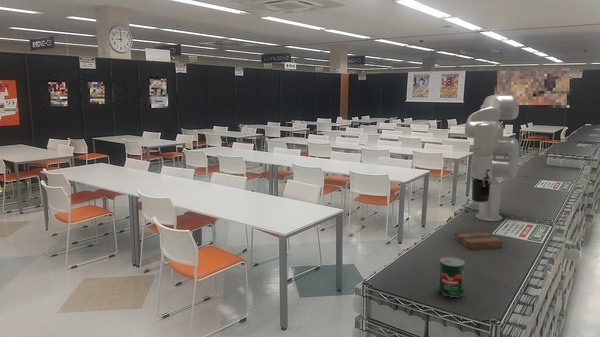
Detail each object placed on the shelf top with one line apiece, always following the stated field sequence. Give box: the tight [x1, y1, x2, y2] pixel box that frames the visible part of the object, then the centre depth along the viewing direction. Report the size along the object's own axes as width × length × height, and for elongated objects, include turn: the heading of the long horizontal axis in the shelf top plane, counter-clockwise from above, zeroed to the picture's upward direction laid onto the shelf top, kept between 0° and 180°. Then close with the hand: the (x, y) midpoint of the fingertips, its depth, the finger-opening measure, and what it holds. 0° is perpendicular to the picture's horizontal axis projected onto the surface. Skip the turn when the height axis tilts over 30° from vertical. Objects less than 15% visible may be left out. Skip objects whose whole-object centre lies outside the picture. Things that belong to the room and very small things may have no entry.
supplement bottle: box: [471, 178, 489, 203], centre depth 178 cm, size 7×7×12 cm
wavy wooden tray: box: [454, 230, 503, 251], centre depth 182 cm, size 14×14×3 cm
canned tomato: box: [438, 256, 466, 297], centre depth 137 cm, size 8×8×11 cm
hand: (480, 193), depth 178 cm, fingers closed on supplement bottle, 6 cm apart
